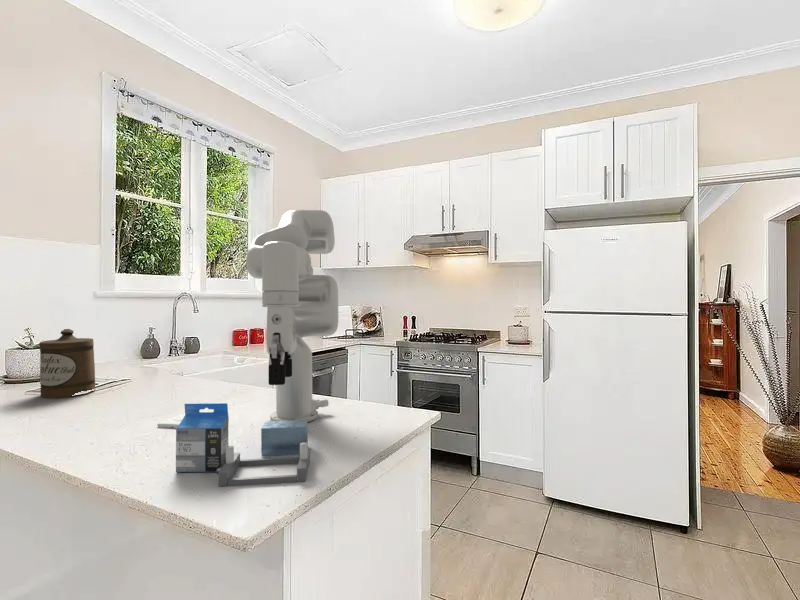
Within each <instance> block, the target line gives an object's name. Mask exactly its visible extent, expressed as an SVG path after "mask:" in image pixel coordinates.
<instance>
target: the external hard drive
mask: <svg viewBox="0 0 800 600" xmlns="http://www.w3.org/2000/svg"><path fill="white" fill-rule="evenodd" d="M199 412H214V410H211V411H210V410H199ZM184 416H185V412H184V413H181V414H179V415H175V416H174V417H171V418H169V419H166V420H164V421H161V422H159V423H157V425H156V426H158V427H157V428H163V427H174V428H173V429H176V428H177V427H178V425H179V424H180V423H181V421H182V419H183V418H184Z"/></svg>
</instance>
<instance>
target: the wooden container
mask: <svg viewBox="0 0 800 600" xmlns="http://www.w3.org/2000/svg"><path fill="white" fill-rule="evenodd" d="M74 333H75V331H74V330H73V329H71V328H65V329H62V330H61V331H60V335H61V336H60V337H59V338H57V339H51V340H43V341H40V342H39V352H40V354H39V357H40V362H39V363H40V365H39V367H40V368H39V370H40V371H39V381H40V382H39V383H40V397H41V398H44V399H64V398H63V397H66V398H71V397H70V396H72V395H74V394H75V393H78V392H81V391H87V390H92V389H94V388H95V389H96V366H95V365H96V364H95V353H94V352H95V350H94V346H95V345H94V339H93V338H89V337H88V338H87V337H82V338H81V337H80V338H79V337H76V336H74V335H73V334H74Z"/></svg>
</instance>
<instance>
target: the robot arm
mask: <svg viewBox="0 0 800 600" xmlns="http://www.w3.org/2000/svg"><path fill="white" fill-rule="evenodd" d="M332 219H333V218H332V216H331V215H330V214H329V212H327V211H325V210H321V209H292V210H288V211H286V212H285V213H284V214H283V215H282V216H281V219H280V220H279V223H278V227H276V228H273V229H271V230H268V231H266V232H264V233H261V234H259V235H257V236H256V237H254V239H253V240H252V242H251V243H250V246H249V248H248V250H247V253H246V259H245V265H246V270H247V272H248V274H249V276H251V277H253V279H254V278H255V279H257V280H258V279H259V280H261V279H262V280H261V283H262V286H261V287H262V288H261V290H262V291H261V298H262V299H261V300H262V303H261V304H262V308H267V310H266V311H267V312H266V313H267V314H266V352H267V354H269V357H268V358H269V359H268V385H270V386H275V399H276V400H275V403H276V404H275V405H276V406H275V407H276V408H275V409H276V411H274V412H272V413H271V414H270V417H269V419H270V420H269V421H289V420H307V423H310V422H312V421H314V420H316V419H318V417H319V412H318V409H319V408H325V407H329V404H330V403H329V400H328V398H327V399H326V398H325V399H321V400H320V399H319V398H318V399H314V398H313V353H312V350H311V348H310V346H309V345H308V343H306V341H305V340H304V339H303V338H304V337H305V338H306V337H328V336H332V335H334V334H335V333H336V332H337V329H338V326H339V288H338V283H337V281H336V279H335V278H334V277H333V276H331V275H329V274H328V275H327V274H326V275H325V274H314V269H313V266H312V258H311V256H310V255H326V254H327V255H328V254H330V253H331V252H333V251H334V248H335V242H336V241H335V240H336V239H335V229H334V222H333V220H332Z"/></svg>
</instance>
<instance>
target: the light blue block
mask: <svg viewBox="0 0 800 600" xmlns="http://www.w3.org/2000/svg"><path fill="white" fill-rule="evenodd" d="M260 431H261V432H260V434H261V435H260V436H261V440H260V441H261V444H260V445H261V446H260V447H261V449H260V452H261V454H260V455H261V457H262V456H265V457H280V456H281V457H284V455H285V457H286V456H300V443H307V448H309V447H308V445H309V444H308V443H309V441H308V438H309V437H308V436H309V435H308V433H309V432H308V431H309V430H308V422H307V420H289V421H271V420H269V421H265V422H264V423H263V425H262V426H261V428H260Z"/></svg>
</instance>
